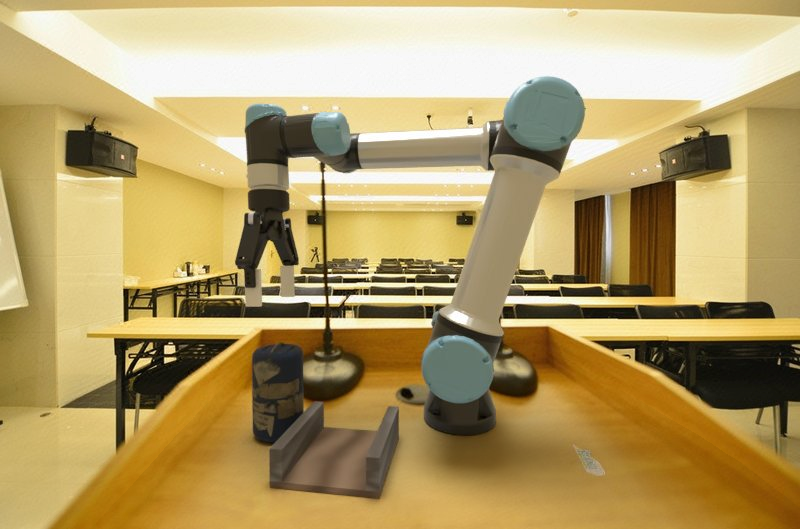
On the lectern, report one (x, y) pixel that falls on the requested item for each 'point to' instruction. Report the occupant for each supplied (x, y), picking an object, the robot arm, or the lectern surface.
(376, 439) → the holder
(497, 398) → the lectern surface
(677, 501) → the lectern surface
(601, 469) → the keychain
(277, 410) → the canister
